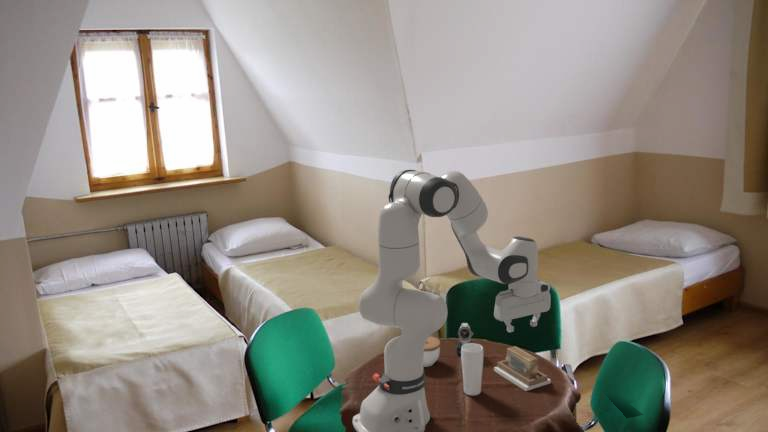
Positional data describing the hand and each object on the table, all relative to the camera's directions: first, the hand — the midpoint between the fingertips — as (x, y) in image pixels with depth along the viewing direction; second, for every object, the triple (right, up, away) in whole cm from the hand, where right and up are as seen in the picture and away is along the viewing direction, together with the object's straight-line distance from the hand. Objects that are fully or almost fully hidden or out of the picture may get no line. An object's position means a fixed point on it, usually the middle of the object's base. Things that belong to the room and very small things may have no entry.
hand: (522, 328), depth 194 cm
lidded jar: (-30, -15, +16) cm, 37 cm away
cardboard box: (+1, -15, +4) cm, 16 cm away
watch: (-15, -13, +22) cm, 30 cm away
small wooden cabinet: (+1, -16, +4) cm, 17 cm away
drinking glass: (-17, -19, -5) cm, 26 cm away
